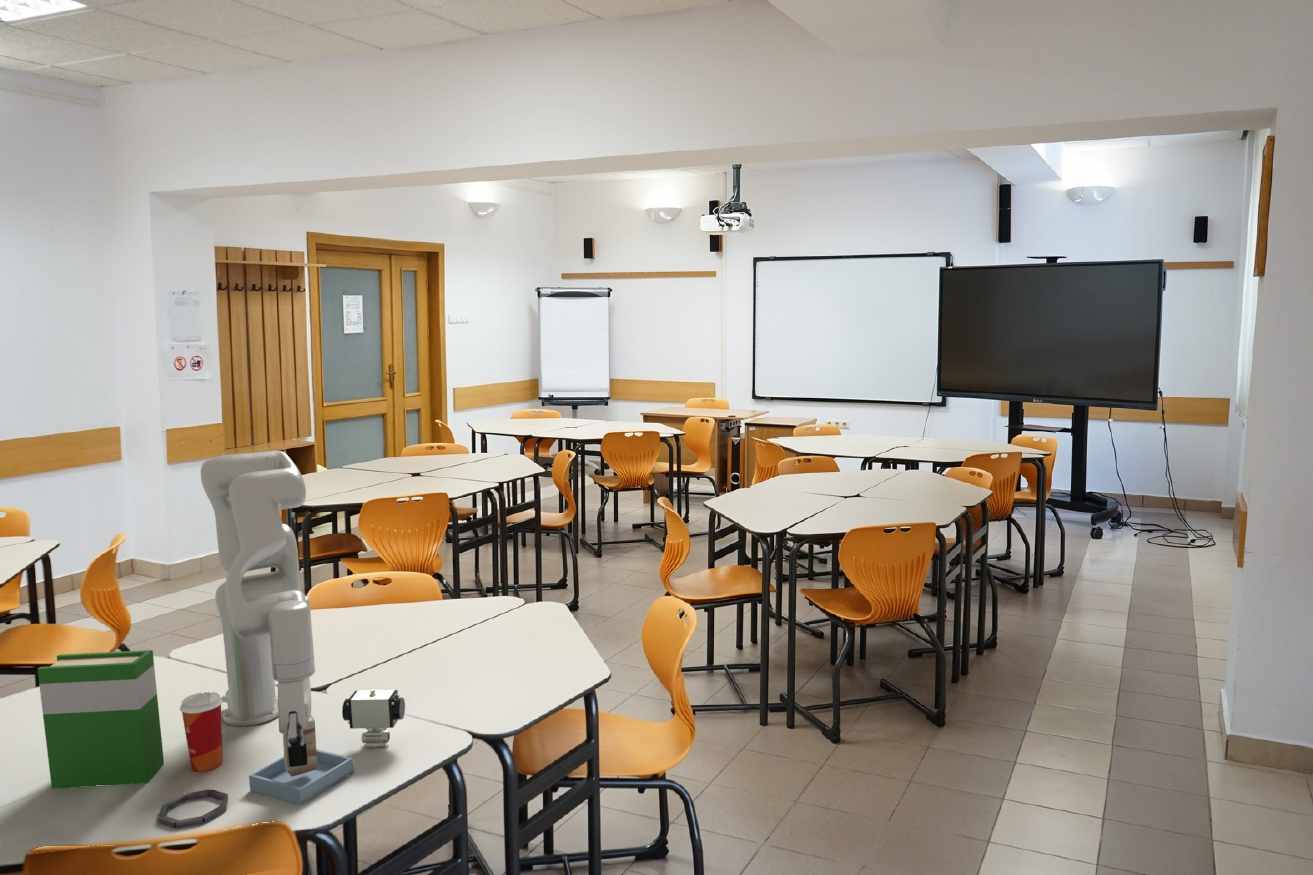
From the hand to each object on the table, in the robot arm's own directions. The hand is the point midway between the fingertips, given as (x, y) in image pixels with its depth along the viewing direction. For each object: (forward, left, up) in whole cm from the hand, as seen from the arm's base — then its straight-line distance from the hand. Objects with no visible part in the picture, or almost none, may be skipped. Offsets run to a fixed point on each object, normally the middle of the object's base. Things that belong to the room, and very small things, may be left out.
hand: (300, 756), depth 180 cm
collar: (-10, -16, -5) cm, 20 cm away
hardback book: (-37, -14, -5) cm, 40 cm away
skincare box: (0, 0, -3) cm, 3 cm away
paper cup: (-23, -3, -5) cm, 24 cm away
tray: (0, 0, -5) cm, 5 cm away
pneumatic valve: (+2, +18, -5) cm, 19 cm away
